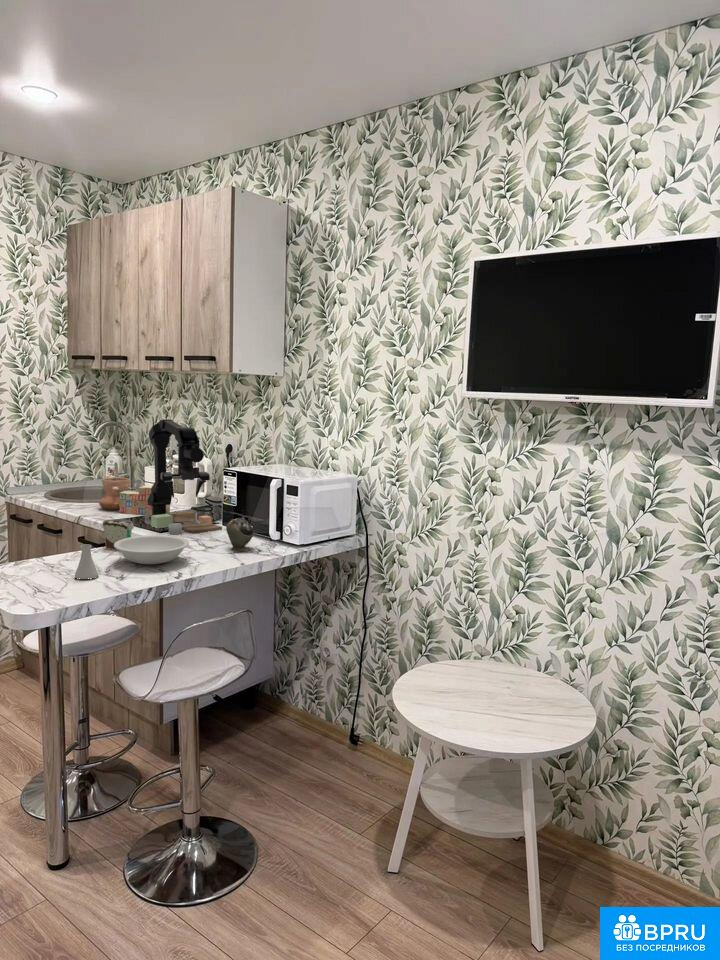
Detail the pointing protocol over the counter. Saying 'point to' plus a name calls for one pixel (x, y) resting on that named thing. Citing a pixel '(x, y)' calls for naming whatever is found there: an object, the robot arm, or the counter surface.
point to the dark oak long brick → (183, 516)
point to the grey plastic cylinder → (175, 528)
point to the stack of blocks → (137, 502)
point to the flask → (86, 564)
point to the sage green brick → (161, 520)
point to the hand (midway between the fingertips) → (184, 497)
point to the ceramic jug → (113, 492)
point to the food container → (116, 531)
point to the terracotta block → (205, 519)
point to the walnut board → (200, 527)
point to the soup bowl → (151, 548)
